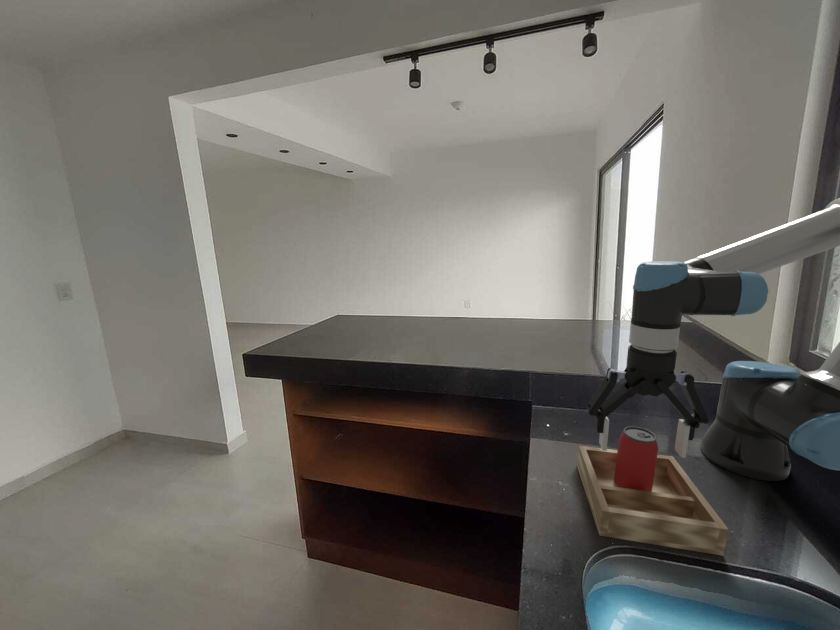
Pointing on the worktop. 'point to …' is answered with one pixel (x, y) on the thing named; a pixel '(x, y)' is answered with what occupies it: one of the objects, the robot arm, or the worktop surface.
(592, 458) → the crate
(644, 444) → the beer can
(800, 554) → the worktop surface
